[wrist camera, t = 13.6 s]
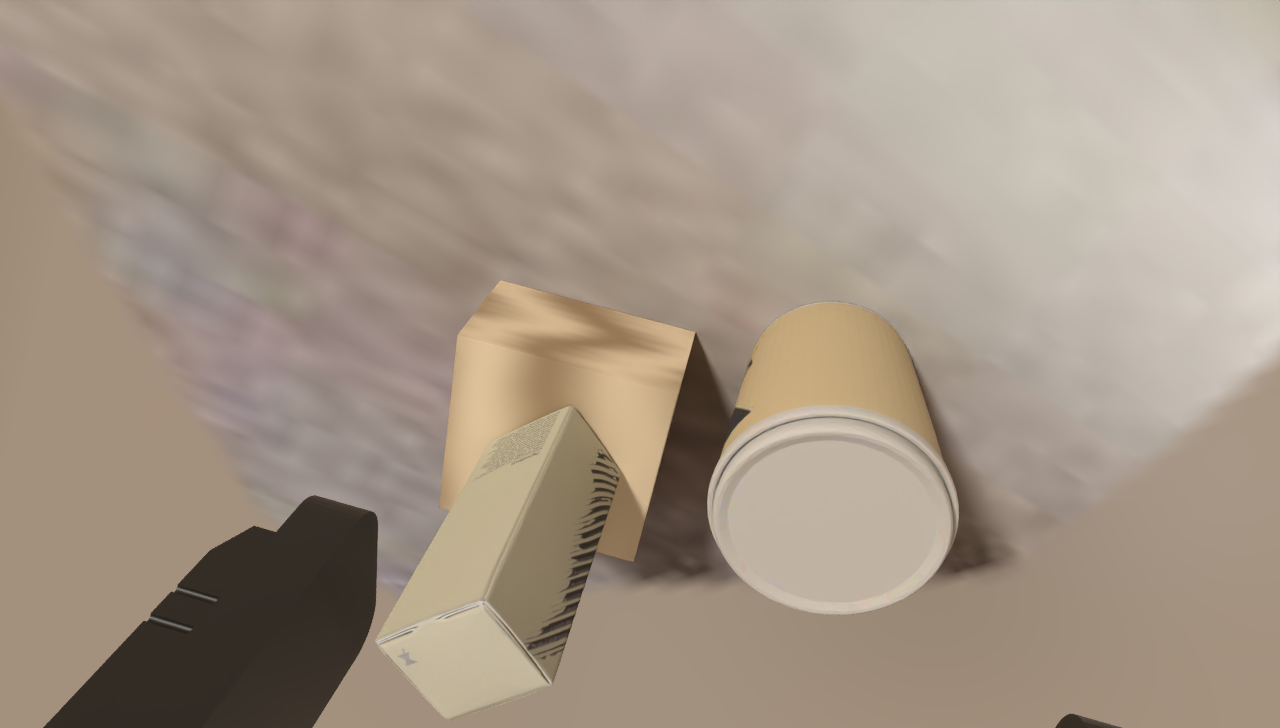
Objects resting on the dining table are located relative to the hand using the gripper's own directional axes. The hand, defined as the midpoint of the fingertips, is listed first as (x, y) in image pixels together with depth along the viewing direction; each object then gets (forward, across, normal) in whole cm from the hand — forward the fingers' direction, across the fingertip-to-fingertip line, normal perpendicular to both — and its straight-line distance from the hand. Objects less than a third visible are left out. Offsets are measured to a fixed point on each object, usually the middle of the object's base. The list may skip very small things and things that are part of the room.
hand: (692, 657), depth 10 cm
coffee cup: (+32, -4, +13) cm, 35 cm away
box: (+26, +7, +17) cm, 32 cm away
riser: (+31, +7, +18) cm, 37 cm away
